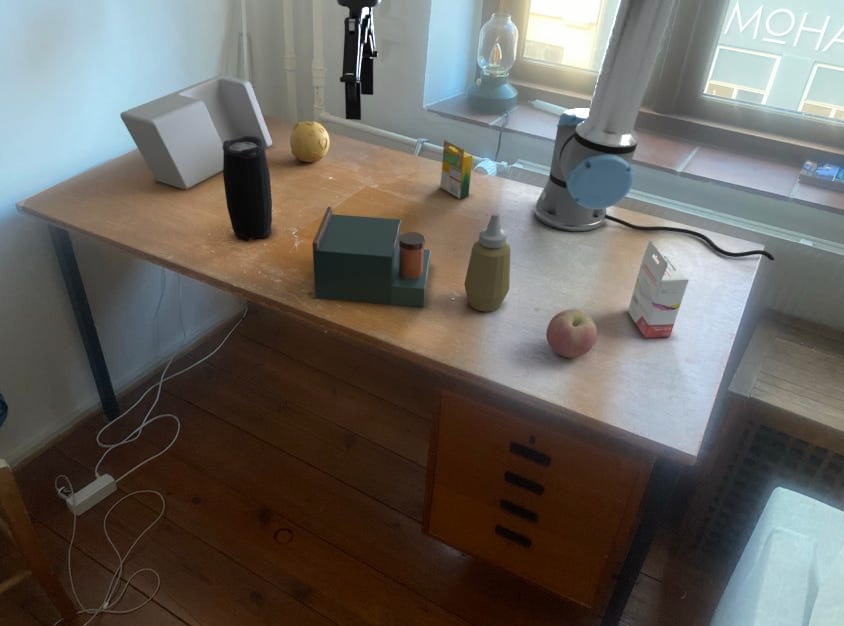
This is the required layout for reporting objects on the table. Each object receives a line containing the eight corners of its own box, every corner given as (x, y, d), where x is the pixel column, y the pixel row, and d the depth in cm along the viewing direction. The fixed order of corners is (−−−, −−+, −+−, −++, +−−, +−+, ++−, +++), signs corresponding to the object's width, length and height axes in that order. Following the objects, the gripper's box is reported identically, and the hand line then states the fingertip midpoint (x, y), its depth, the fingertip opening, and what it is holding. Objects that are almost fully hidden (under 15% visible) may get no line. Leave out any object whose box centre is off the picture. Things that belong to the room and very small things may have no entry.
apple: (538, 361, 117) (546, 322, 112) (547, 335, 122) (555, 297, 117) (587, 373, 115) (597, 333, 110) (594, 346, 120) (604, 307, 115)
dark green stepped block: (429, 267, 140) (433, 214, 132) (423, 307, 129) (426, 251, 122) (329, 259, 141) (327, 206, 134) (315, 297, 131) (312, 242, 123)
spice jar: (424, 267, 132) (426, 232, 127) (422, 280, 128) (424, 245, 124) (399, 265, 132) (400, 230, 128) (396, 278, 129) (397, 243, 124)
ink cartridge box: (671, 337, 123) (696, 264, 113) (643, 338, 122) (666, 265, 113) (652, 309, 129) (674, 238, 120) (626, 310, 129) (646, 238, 120)
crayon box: (469, 196, 165) (474, 147, 158) (459, 199, 163) (463, 150, 156) (449, 184, 169) (453, 137, 162) (440, 187, 168) (443, 139, 161)
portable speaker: (223, 238, 147) (210, 146, 135) (249, 219, 154) (239, 131, 142) (257, 247, 144) (246, 155, 132) (282, 228, 151) (275, 138, 139)
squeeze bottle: (505, 318, 126) (518, 228, 115) (460, 312, 127) (469, 222, 116) (508, 294, 132) (521, 206, 121) (465, 289, 134) (474, 201, 122)
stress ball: (291, 153, 183) (288, 114, 176) (329, 152, 183) (327, 113, 177) (291, 169, 175) (288, 129, 169) (331, 168, 176) (329, 128, 170)
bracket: (204, 224, 173) (152, 122, 149) (173, 213, 177) (117, 113, 153) (274, 144, 186) (235, 39, 162) (243, 136, 190) (201, 32, 166)
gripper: (350, -37, 128) (352, 83, 142) (320, -7, 109) (326, 129, 122) (391, -35, 128) (390, 85, 141) (368, -5, 108) (369, 131, 122)
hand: (360, 106), depth 132 cm, fingers open, 13 cm apart
